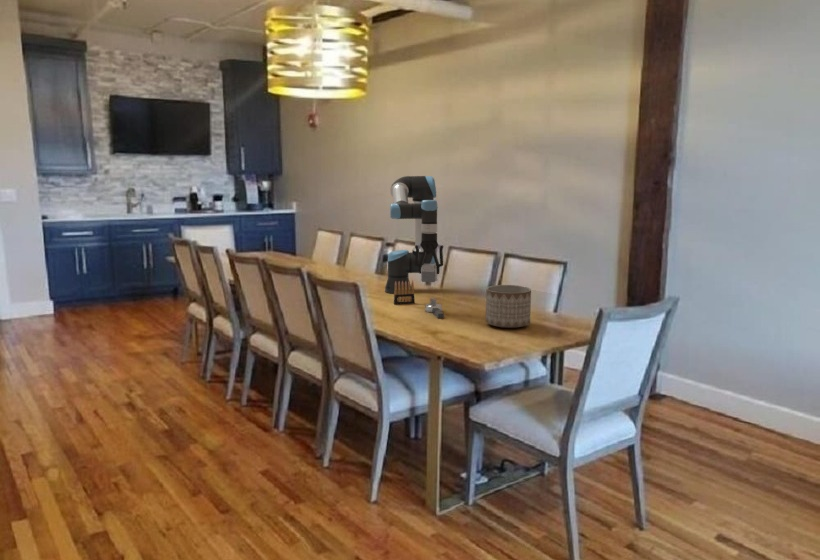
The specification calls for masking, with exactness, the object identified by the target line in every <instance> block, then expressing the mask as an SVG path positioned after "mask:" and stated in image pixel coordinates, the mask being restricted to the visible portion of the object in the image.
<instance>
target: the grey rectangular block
mask: <svg viewBox="0 0 820 560" xmlns="http://www.w3.org/2000/svg"><path fill="white" fill-rule="evenodd" d="M435 267H436V263H435V264H423V265H422V281H421V282H422V283H435V282H436V281H435Z"/></svg>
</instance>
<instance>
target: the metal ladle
mask: <svg viewBox="0 0 820 560" xmlns="http://www.w3.org/2000/svg"><path fill="white" fill-rule="evenodd" d="M429 300H430V301H429V302H430V303H426V304H425V305H424V306H425V307H424V313H428V314H432V315H434V316H435V317H436V318H437V319H438V320H440V319H441V320H442V319H445V314H444V312H443V310H442V308H443V307H442V304H441V303H437V299H436V298H430V299H429Z"/></svg>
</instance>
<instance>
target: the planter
mask: <svg viewBox="0 0 820 560" xmlns="http://www.w3.org/2000/svg"><path fill="white" fill-rule="evenodd" d="M531 303H532V288H530V287H527V286H524V285H515V284H497V285H496V284H495V285H490V286H487V287H486V293H485V322H486V323H487V324H488V325H490V326H495V327H497V328H502V329H518V328H521V327H526V326H529V325H530V323H531V307H532V306H531Z"/></svg>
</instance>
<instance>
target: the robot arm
mask: <svg viewBox="0 0 820 560" xmlns="http://www.w3.org/2000/svg"><path fill="white" fill-rule="evenodd" d="M435 181H436V180H435V178H434V177H433V176H429V175H428V176H427V175H414V176H413V175H412V176H411V175H410V176H409V175H404V176H402V177H400V178H397V179H396V180H395V181H394V182H393V183H392V184H391V187H390V194H391V196H392V201H393V203H391V204H390V207H389V210H390V219H394V220H413V219H414V238H415V240H414V247H413V248H412V250H411V252H410V251H409V249H399V250H393V251H390V252H389V253H388V254H387V281H386V283H385V286H384V292H385V293H387V294H392V295H394V288H395V281H396V283H397V294H398V282H399V281H400V288H401V285H402V281H403V283H404V288H405V281H406V282H407V290H408V282H409V281H410V278H409V274H420V282H422V265H423V264H436V267H435V282H437V281H438V275H440V268H441V267H442V266H444V255H443V249H444V245H442V244H439V242H438V202H437V200H436V198H437V186H436V182H435ZM409 198H410V199H412V202H413V203H410V202H409ZM437 248H438V250H439V251H438V252H439V259H438V256H437V251H436V249H437ZM410 288H411V283H410Z"/></svg>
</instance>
